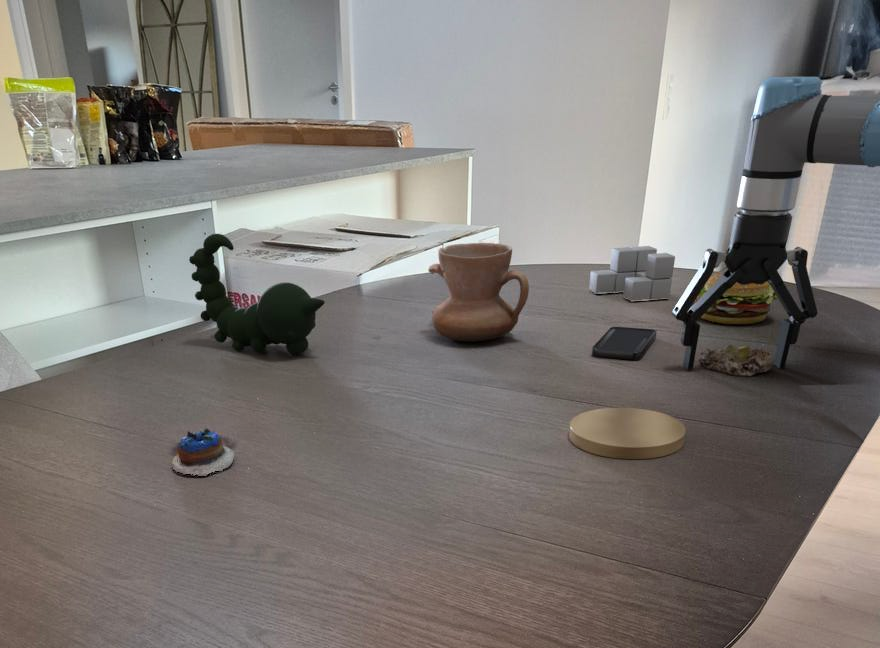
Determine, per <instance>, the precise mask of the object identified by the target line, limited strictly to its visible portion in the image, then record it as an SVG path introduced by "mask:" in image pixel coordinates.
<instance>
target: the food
mask: <svg viewBox="0 0 880 648" xmlns="http://www.w3.org/2000/svg"><path fill="white" fill-rule="evenodd" d="M724 271H725V270H723V271H720V272H716V273H714V274H712V275H711V276H710V278H709V279H708V281H707V283H706V284H705V286H704V287H703V289H702V290H701V292H700V293H699V295H698V297H697V298H696V300H695V301H694V302H695V303H696V302H697V301H698V300H699V299H700V298H701V297H702V296H703V295H704V294H705V293H706V292H707V291H708V290H709V288H710V287H711V286H712V285H713V284H714V283H715V282H716V281H717V280H718V279H719V277H720V275H721V274H722V273H723V272H724ZM775 300H779V299H778V297H777V296H776V294H775V292H774V291H773V289H772V287H771V286H770V284H769V283H768V282H765V283H763V284H754V283H751V284H747V285H741V284H739V283H736V284H735V285H734V286H733V287H731V288H729V289H728V290H727V291H726V292H725V293H724V294H723V295H722V296H721V297H720V298H719V299H718V300H717V301H716V302H715V303H714V304H713V305H712V306H711V307H710V308H709V309H708V310H707V311H706V312H705V313H704V314H703V315H702V316H701V317H700V318H701V319H702V320H704V319H705V320H704V321H707V320H708V321H707V322H711V321H712V322H711V323H714V322H717V323H716V324H721V323H722V325H733V324H735V326H736V325H737V326H738V325H739V326H742V324H743V325H753V324H757V323H760V322H763V321H765V319H766V318H767V316H768V313H769V312H770V311H771V304H772V302H773V301H775Z"/></svg>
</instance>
